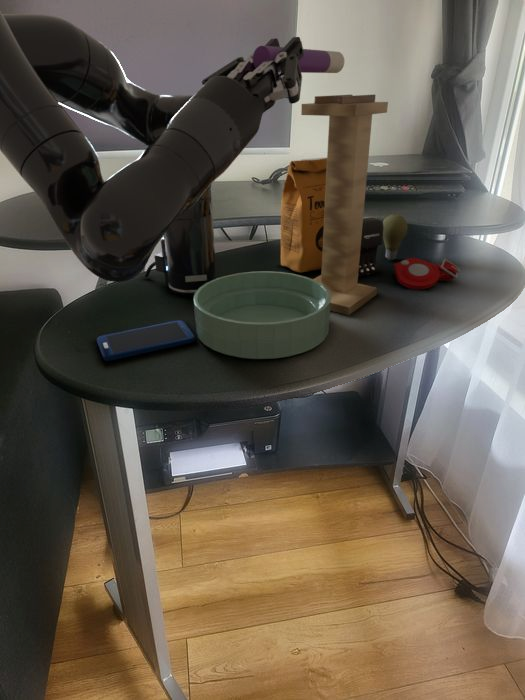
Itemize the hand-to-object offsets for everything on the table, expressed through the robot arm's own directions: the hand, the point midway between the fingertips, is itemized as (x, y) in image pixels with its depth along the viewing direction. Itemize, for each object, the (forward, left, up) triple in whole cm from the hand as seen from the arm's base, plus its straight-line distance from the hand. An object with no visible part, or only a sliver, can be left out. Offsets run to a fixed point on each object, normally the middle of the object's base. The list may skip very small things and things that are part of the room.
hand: (287, 46), depth 59 cm
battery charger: (-1, +30, -39) cm, 49 cm away
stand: (0, +16, -39) cm, 42 cm away
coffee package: (-12, +28, -39) cm, 50 cm away
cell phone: (-15, -16, -39) cm, 44 cm away
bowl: (-3, -2, -39) cm, 39 cm away
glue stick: (0, +3, -3) cm, 5 cm away
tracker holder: (+11, +33, -39) cm, 52 cm away
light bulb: (0, +42, -39) cm, 57 cm away
